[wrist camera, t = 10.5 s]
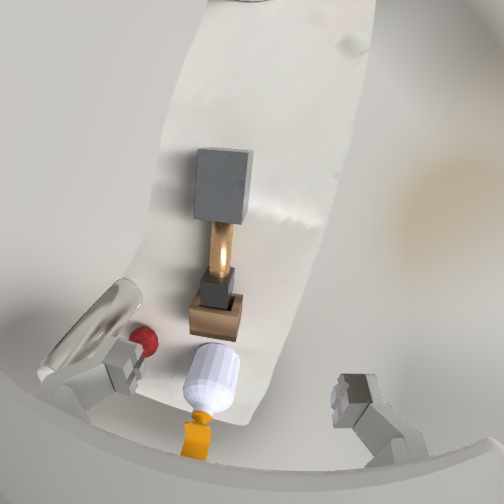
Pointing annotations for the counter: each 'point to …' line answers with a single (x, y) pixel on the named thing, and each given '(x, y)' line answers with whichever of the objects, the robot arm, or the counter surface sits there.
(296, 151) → the counter surface
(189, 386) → the soap bottle
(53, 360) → the silver metal cylinder
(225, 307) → the hammer
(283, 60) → the counter surface
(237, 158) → the matte grey rectangular block
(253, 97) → the counter surface
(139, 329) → the onion
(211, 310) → the socket
